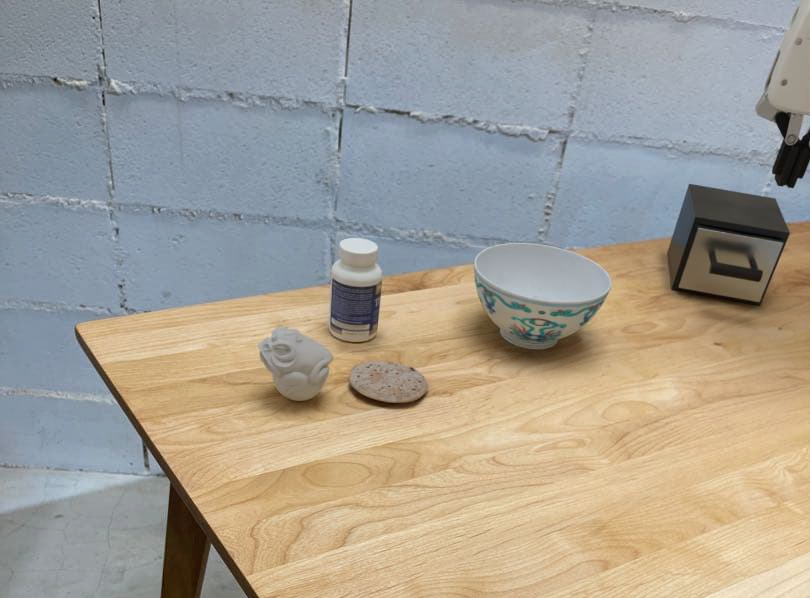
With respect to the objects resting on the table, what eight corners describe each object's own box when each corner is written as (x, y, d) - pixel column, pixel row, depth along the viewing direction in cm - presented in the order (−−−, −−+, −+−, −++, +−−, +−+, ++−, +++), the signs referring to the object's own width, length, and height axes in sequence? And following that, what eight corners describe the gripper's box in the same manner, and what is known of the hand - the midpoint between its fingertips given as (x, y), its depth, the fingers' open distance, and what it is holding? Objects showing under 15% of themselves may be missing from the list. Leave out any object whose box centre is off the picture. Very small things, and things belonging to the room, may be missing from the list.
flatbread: (438, 381, 86) (439, 372, 85) (408, 415, 80) (409, 406, 80) (367, 358, 88) (368, 349, 87) (333, 390, 82) (334, 381, 82)
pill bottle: (382, 343, 91) (390, 256, 85) (333, 344, 90) (338, 256, 83) (371, 319, 95) (378, 234, 88) (324, 320, 93) (328, 234, 87)
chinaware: (610, 330, 99) (628, 267, 94) (568, 383, 89) (586, 316, 83) (494, 293, 103) (505, 231, 98) (442, 340, 93) (451, 273, 88)
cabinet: (760, 306, 109) (790, 233, 103) (671, 289, 110) (695, 216, 104) (748, 267, 119) (775, 198, 113) (667, 252, 120) (689, 183, 113)
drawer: (764, 319, 104) (789, 258, 99) (680, 303, 105) (701, 242, 100) (748, 266, 117) (770, 210, 111) (674, 253, 117) (692, 196, 112)
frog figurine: (256, 381, 83) (255, 315, 78) (327, 379, 84) (330, 315, 79) (261, 415, 78) (260, 348, 74) (336, 413, 80) (339, 347, 75)
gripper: (787, -29, 75) (715, 182, 87) (959, -4, 74) (862, 207, 86) (775, -39, 80) (710, 161, 92) (935, -15, 79) (847, 184, 91)
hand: (783, 182), depth 89 cm, fingers closed
